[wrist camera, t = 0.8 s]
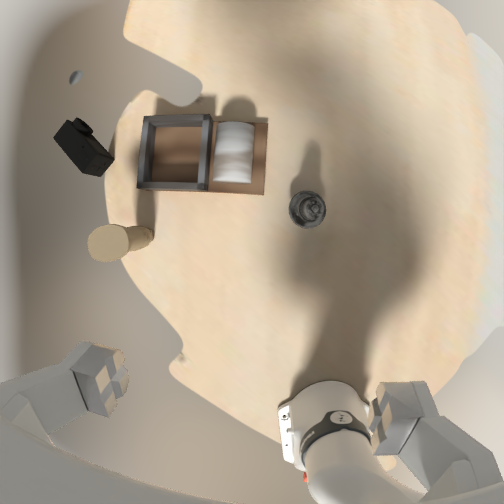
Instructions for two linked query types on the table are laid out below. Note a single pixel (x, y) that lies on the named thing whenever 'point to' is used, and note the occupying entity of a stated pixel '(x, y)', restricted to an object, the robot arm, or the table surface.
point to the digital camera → (83, 148)
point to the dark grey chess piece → (307, 209)
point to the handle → (117, 241)
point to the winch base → (201, 155)
